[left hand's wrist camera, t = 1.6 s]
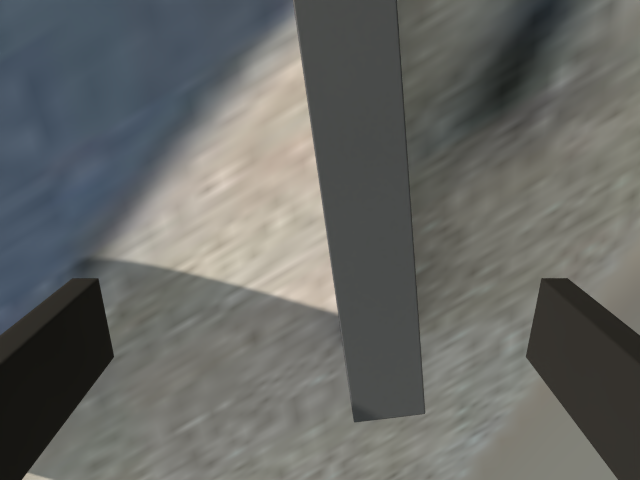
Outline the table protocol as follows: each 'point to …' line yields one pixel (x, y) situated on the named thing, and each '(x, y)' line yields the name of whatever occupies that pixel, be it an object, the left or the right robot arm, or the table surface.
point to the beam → (365, 196)
